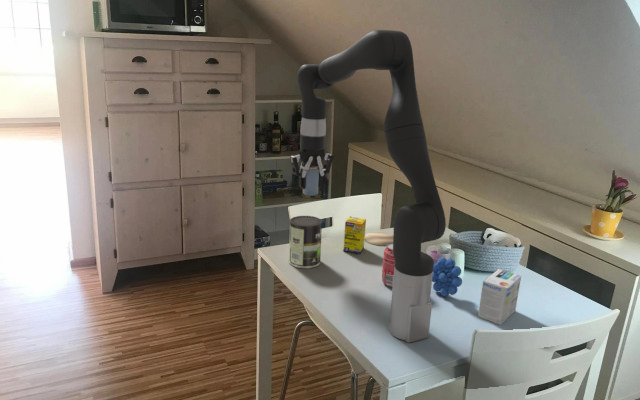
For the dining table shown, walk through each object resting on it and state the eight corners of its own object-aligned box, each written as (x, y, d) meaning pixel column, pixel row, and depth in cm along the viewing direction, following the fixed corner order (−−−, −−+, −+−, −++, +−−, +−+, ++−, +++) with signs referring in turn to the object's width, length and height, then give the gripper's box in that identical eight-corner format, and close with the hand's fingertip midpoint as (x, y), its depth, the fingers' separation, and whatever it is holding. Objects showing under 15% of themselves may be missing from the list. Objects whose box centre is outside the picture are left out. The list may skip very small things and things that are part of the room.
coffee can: (322, 257, 175) (324, 216, 171) (317, 270, 166) (319, 227, 162) (292, 254, 177) (293, 214, 173) (285, 266, 167) (286, 224, 163)
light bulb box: (492, 302, 150) (498, 267, 147) (516, 311, 146) (522, 275, 143) (476, 316, 142) (482, 280, 139) (501, 326, 138) (507, 288, 135)
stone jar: (320, 194, 164) (322, 167, 161) (306, 196, 162) (307, 168, 159) (314, 190, 168) (315, 163, 165) (300, 191, 166) (301, 164, 163)
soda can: (404, 279, 162) (408, 242, 158) (405, 289, 155) (409, 251, 152) (381, 277, 162) (384, 240, 159) (381, 287, 156) (384, 249, 152)
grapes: (469, 301, 150) (474, 262, 146) (452, 306, 147) (457, 266, 143) (440, 284, 159) (444, 247, 156) (423, 289, 156) (427, 251, 152)
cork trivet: (403, 243, 191) (403, 241, 190) (375, 247, 185) (375, 246, 185) (385, 231, 201) (385, 230, 201) (357, 235, 195) (357, 234, 195)
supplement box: (343, 251, 181) (344, 221, 177) (347, 245, 186) (349, 216, 183) (360, 254, 179) (362, 223, 176) (364, 248, 185) (366, 218, 181)
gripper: (296, 136, 153) (294, 193, 158) (340, 134, 159) (336, 189, 164) (286, 131, 159) (284, 186, 164) (328, 129, 165) (326, 182, 170)
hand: (310, 187), depth 164 cm, fingers closed on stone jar, 4 cm apart
